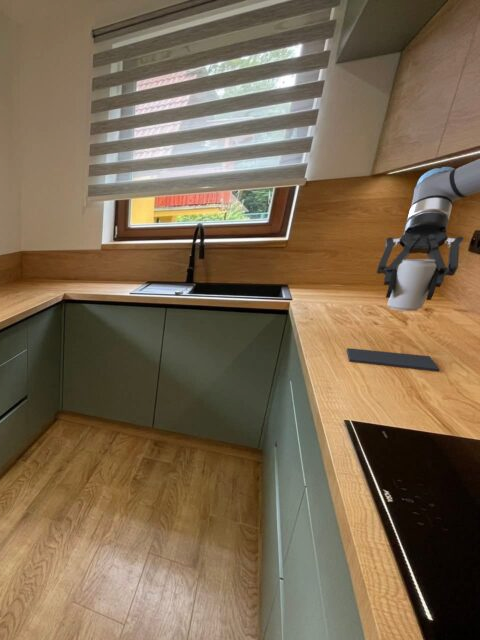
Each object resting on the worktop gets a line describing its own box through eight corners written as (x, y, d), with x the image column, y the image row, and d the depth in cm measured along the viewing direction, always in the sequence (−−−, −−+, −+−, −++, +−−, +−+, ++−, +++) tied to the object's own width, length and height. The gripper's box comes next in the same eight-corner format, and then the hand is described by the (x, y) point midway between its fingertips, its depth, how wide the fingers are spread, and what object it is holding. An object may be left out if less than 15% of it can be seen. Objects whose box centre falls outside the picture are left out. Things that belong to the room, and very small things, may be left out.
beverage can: (414, 307, 108) (430, 258, 104) (426, 311, 103) (443, 260, 99) (382, 306, 111) (396, 258, 107) (392, 310, 106) (407, 260, 101)
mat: (428, 358, 108) (429, 356, 108) (439, 371, 100) (439, 369, 99) (346, 350, 118) (347, 348, 117) (349, 361, 109) (349, 359, 109)
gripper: (478, 231, 105) (463, 308, 100) (373, 233, 118) (353, 301, 112) (490, 208, 100) (474, 288, 94) (378, 213, 112) (358, 283, 107)
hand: (409, 295), depth 103 cm, fingers closed on beverage can, 6 cm apart
